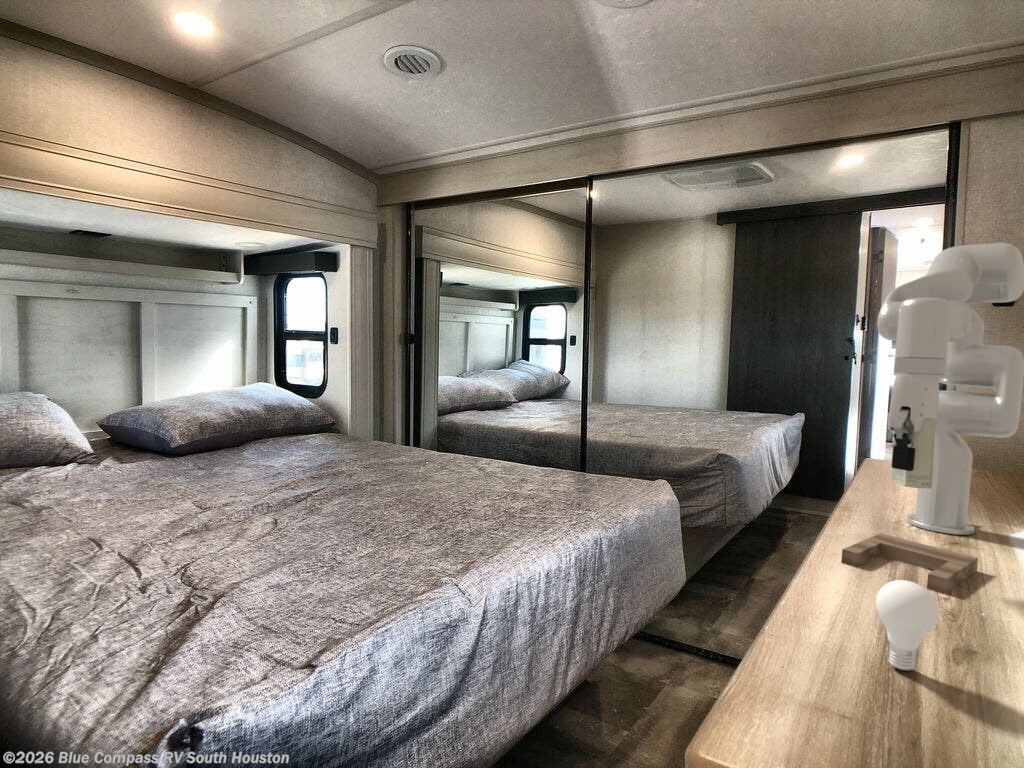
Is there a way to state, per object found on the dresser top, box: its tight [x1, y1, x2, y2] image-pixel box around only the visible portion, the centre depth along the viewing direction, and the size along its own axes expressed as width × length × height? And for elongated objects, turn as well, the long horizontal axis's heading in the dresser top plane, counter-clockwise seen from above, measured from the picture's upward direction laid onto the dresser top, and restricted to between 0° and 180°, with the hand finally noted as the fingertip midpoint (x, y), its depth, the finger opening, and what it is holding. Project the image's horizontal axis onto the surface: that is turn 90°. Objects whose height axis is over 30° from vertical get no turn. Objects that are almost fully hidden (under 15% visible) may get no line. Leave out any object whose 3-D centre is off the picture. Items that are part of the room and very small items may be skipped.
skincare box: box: [890, 419, 936, 489], centre depth 103 cm, size 6×4×12 cm
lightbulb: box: [875, 579, 940, 672], centre depth 70 cm, size 6×6×11 cm
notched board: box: [840, 532, 979, 594], centre depth 106 cm, size 18×16×2 cm
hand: (910, 466), depth 103 cm, fingers closed on skincare box, 7 cm apart
